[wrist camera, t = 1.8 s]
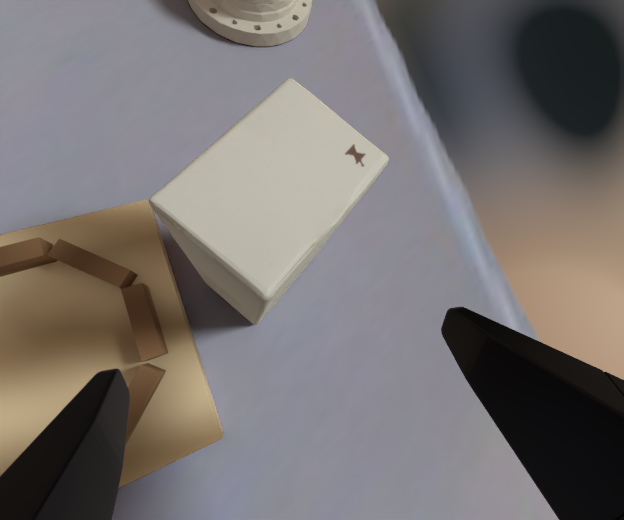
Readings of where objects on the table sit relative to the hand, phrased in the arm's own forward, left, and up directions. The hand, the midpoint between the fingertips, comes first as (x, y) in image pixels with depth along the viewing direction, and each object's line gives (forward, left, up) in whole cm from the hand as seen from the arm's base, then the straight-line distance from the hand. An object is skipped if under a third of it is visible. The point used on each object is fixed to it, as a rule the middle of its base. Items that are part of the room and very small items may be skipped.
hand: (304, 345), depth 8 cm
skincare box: (+5, -1, -11) cm, 12 cm away
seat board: (+4, +11, -11) cm, 16 cm away
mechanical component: (+26, -8, -12) cm, 30 cm away
